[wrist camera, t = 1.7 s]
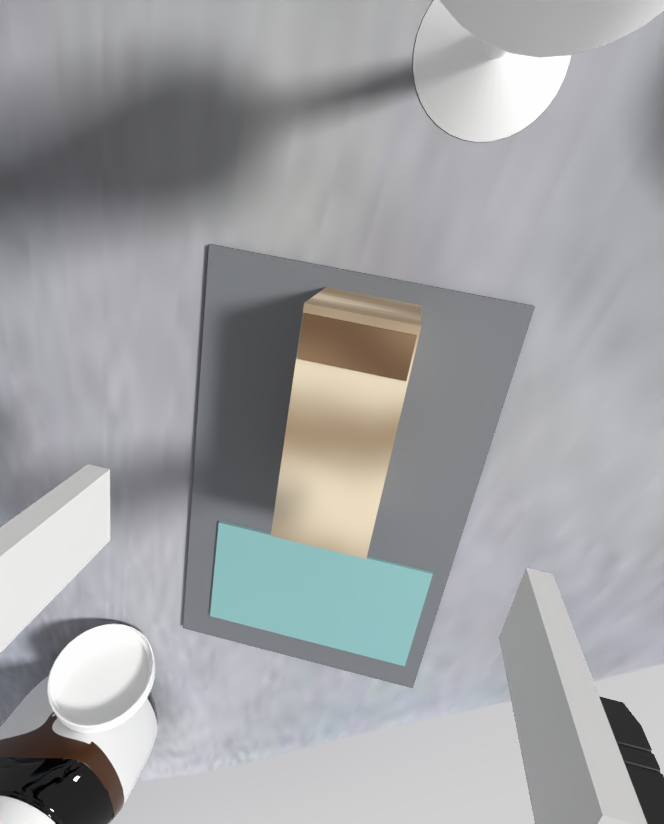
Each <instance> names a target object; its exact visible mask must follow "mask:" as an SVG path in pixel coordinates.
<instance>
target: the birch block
mask: <svg viewBox="0 0 664 824" xmlns="http://www.w3.org/2000/svg"><path fill="white" fill-rule="evenodd" d="M421 326H422V325H421V305H416V304H411V303H406V302H401V301H396V300H391V299H386V298H380V297H375V296H370V295H365V294H360V293H355V292H350V291H344V290H339V289H334V288H329V287H325V288H324V289H323V290H321V291H320V292H318V293H317V294H316V295H314V296H313V297H312V298H310V299H309V300H307V301H306V302H305V303H304V307H303V314H302V321H301V328H300V335H299V342H298V349H297V356H296V363H295V370H294V377H293V384H292V391H291V397H290V404H289V411H288V418H287V425H286V432H285V439H284V446H283V453H282V460H281V467H280V474H279V481H278V488H277V495H276V502H275V509H274V516H273V523H272V530H271V536H273V537H277V538H281V539H285V540H290V541H294V542H298V543H302V544H306V545H310V546H314V547H319V548H323V549H327V550H331V551H335V552H339V553H343V554H348V555H352V556H356V557H360V558H364V559H366V558H367V554H368V550H369V546H370V541H371V537H372V533H373V529H374V525H375V520H376V516H377V512H378V508H379V503H380V499H381V495H382V491H383V487H384V482H385V478H386V474H387V470H388V466H389V461H390V457H391V453H392V449H393V444H394V440H395V436H396V432H397V428H398V423H399V419H400V415H401V411H402V407H403V402H404V398H405V394H406V390H407V385H408V381H409V377H410V373H411V369H412V364H413V360H414V356H415V352H416V348H417V343H418V339H419V335H420V331H421Z"/></svg>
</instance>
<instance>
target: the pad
mask: <svg viewBox="0 0 664 824" xmlns="http://www.w3.org/2000/svg"><path fill="white" fill-rule="evenodd" d="M432 575H433V572H430V571H426V570H422V569H418V568H414V567H410V566H405V565H401V564H397V563H393V562H389V561H385V560H380V559H376V558H372V557H368V556H367V558H366V559H364V558H360V557H356V556H352V555H348V554H343V553H339V552H335V551H331V550H327V549H323V548H319V547H314V546H310V545H306V544H302V543H298V542H294V541H290V540H285V539H281V538H277V537H273V536H271V533H268V532H264V531H260V530H256V529H252V528H247V527H243V526H239V525H235V524H231V523H227V522H222V521H219V525H218V536H217V546H216V557H215V567H214V578H213V589H212V599H211V610H210V616H212V617H216V618H220V619H223V620H227V621H231V622H235V623H239V624H243V625H247V626H251V627H254V628H258V629H262V630H266V631H270V632H274V633H278V634H282V635H285V636H289V637H293V638H297V639H301V640H305V641H309V642H313V643H316V644H320V645H324V646H328V647H332V648H336V649H340V650H343V651H347V652H351V653H355V654H359V655H363V656H367V657H371V658H374V659H378V660H382V661H386V662H390V663H394V664H398V665H402V666H405V664H406V661H407V657H408V654H409V651H410V648H411V644H412V641H413V638H414V634H415V631H416V628H417V625H418V621H419V618H420V615H421V611H422V608H423V605H424V602H425V598H426V595H427V592H428V589H429V585H430V582H431V579H432Z"/></svg>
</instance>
